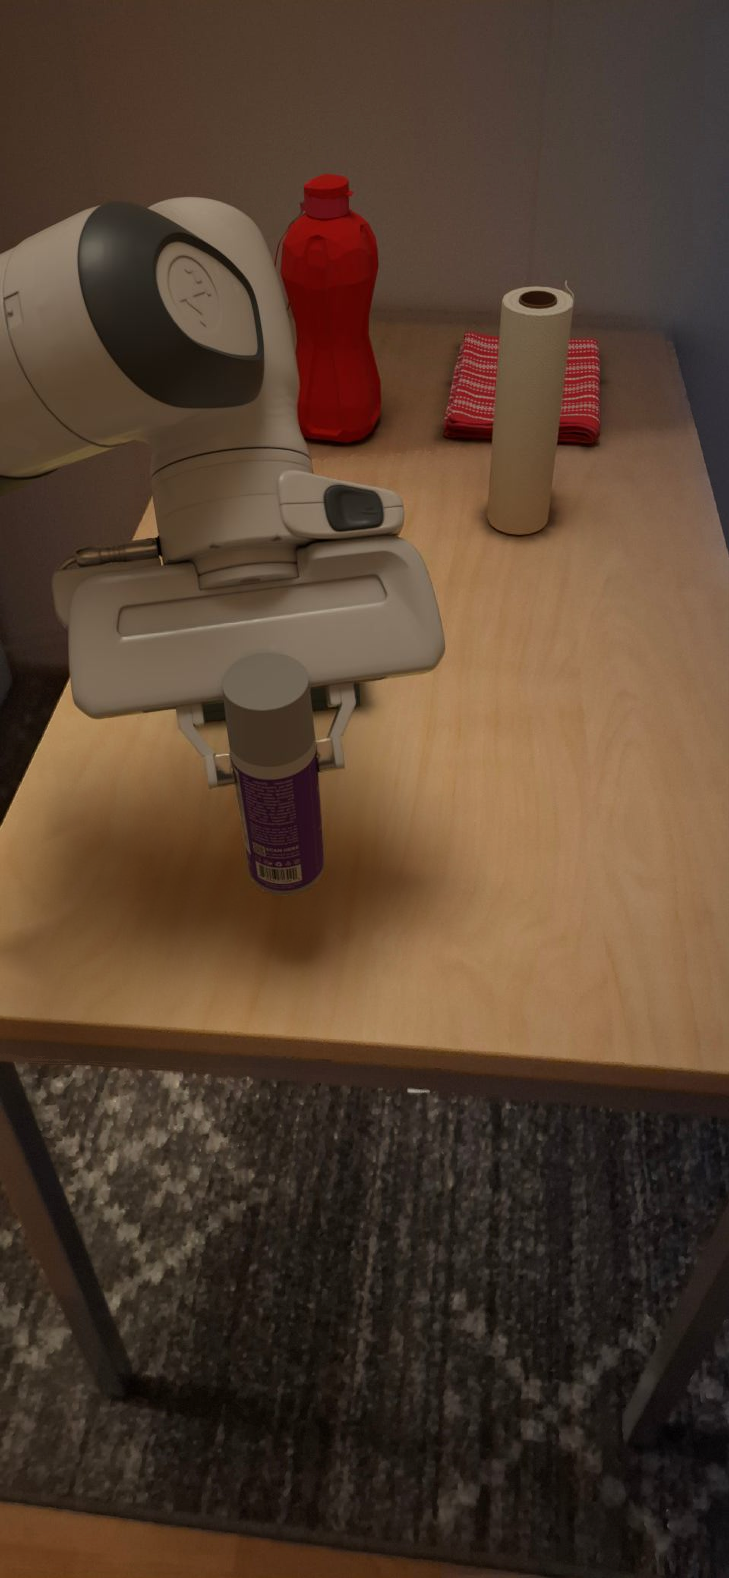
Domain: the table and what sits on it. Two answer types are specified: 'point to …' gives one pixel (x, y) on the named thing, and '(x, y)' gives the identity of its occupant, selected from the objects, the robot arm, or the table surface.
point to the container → (275, 771)
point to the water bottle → (332, 312)
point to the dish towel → (478, 387)
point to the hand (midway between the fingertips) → (278, 778)
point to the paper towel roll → (528, 406)
